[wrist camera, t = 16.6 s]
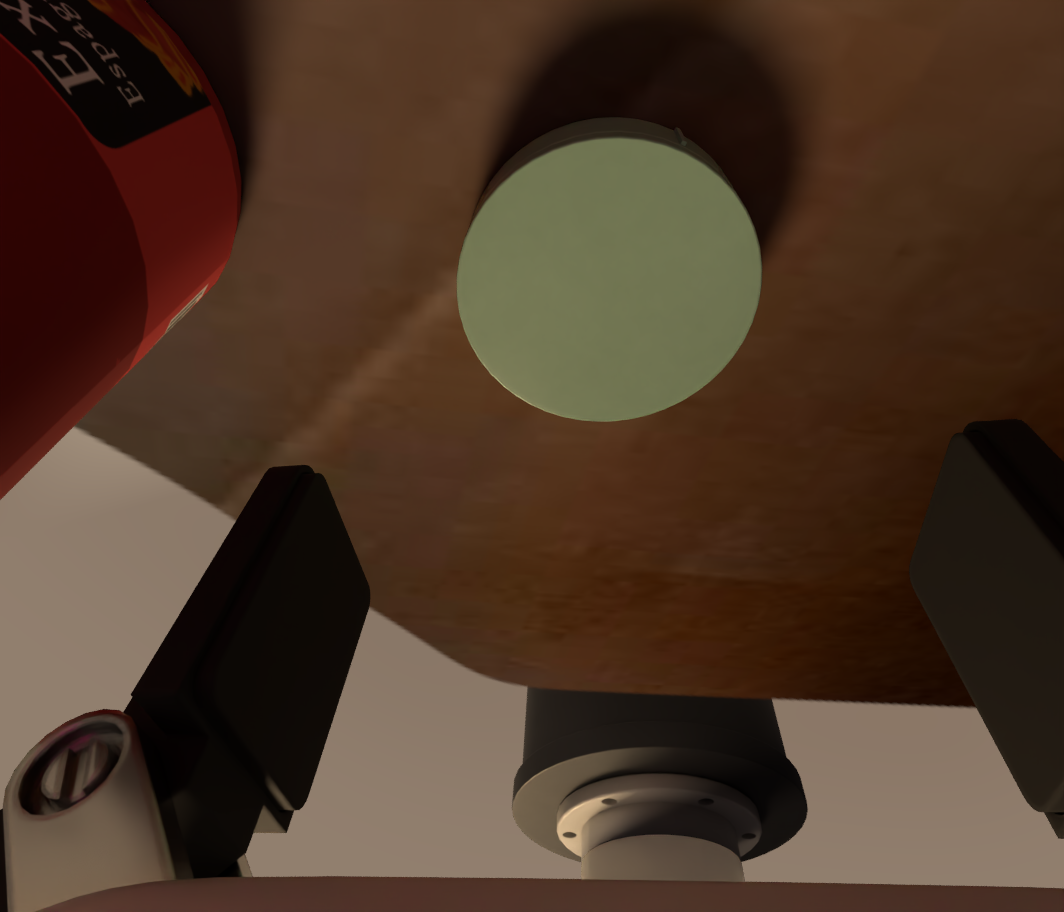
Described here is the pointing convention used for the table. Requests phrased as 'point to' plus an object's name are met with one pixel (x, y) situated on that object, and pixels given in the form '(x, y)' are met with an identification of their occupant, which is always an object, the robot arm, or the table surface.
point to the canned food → (99, 206)
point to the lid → (608, 270)
